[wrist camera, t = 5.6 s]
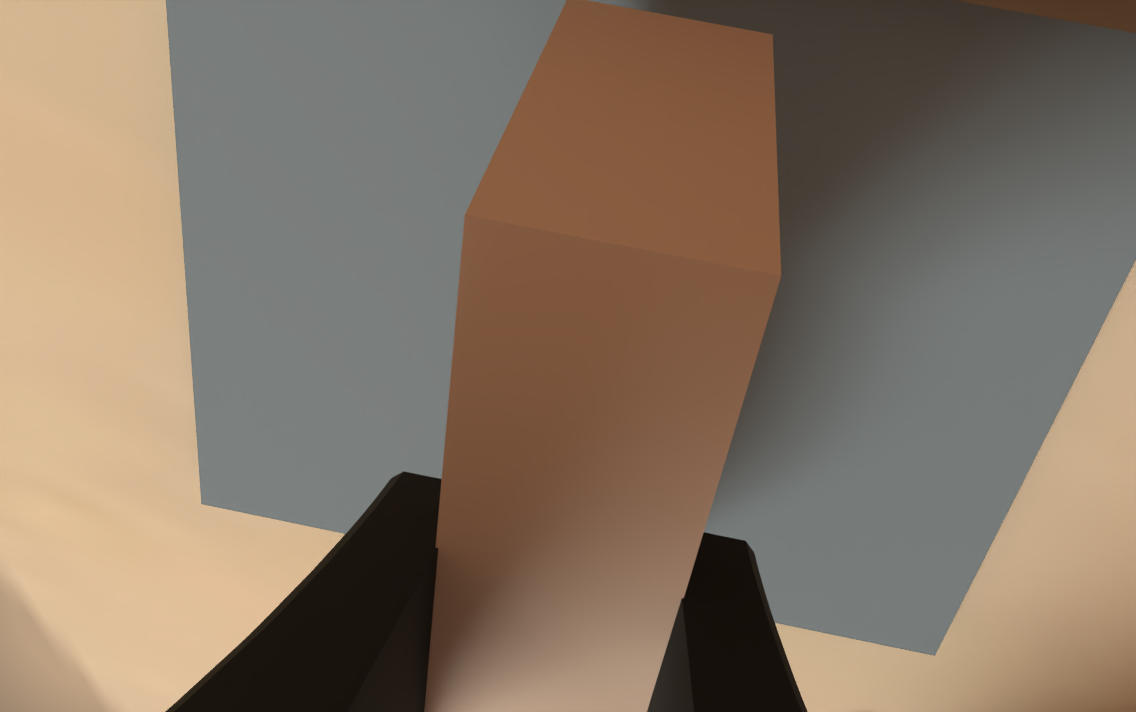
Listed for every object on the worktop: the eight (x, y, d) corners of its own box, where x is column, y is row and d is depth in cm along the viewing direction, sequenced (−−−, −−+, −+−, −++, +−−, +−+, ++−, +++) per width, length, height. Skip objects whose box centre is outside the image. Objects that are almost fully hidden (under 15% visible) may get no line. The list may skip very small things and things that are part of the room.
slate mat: (931, 636, 17) (934, 655, 17) (211, 488, 18) (201, 504, 17) (1236, 20, 11) (1252, 29, 11) (170, -175, 12) (153, -170, 12)
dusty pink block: (619, 633, 15) (577, 949, 12) (485, 606, 16) (404, 911, 12) (773, 34, 10) (780, 276, 7) (568, -3, 10) (465, 215, 7)
